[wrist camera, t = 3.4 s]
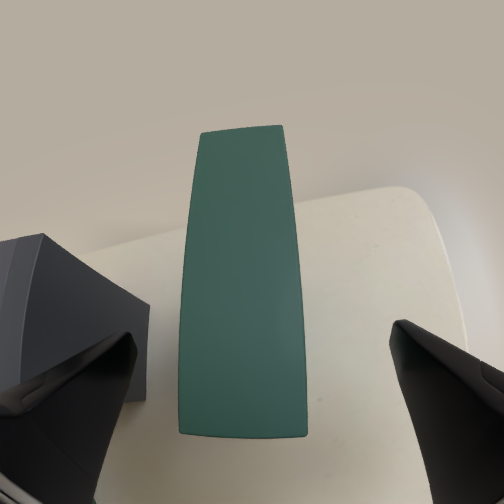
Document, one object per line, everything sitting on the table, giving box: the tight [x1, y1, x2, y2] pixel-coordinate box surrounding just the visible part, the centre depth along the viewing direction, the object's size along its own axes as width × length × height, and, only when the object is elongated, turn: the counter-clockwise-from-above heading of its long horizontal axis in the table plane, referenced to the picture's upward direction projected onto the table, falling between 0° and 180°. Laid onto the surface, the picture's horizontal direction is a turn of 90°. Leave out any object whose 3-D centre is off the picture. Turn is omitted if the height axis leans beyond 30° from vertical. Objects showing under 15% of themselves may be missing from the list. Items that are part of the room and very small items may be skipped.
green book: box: [178, 125, 308, 439], centre depth 11 cm, size 7×2×13 cm, turn 1°
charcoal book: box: [0, 233, 150, 403], centre depth 12 cm, size 7×2×11 cm, turn 1°
